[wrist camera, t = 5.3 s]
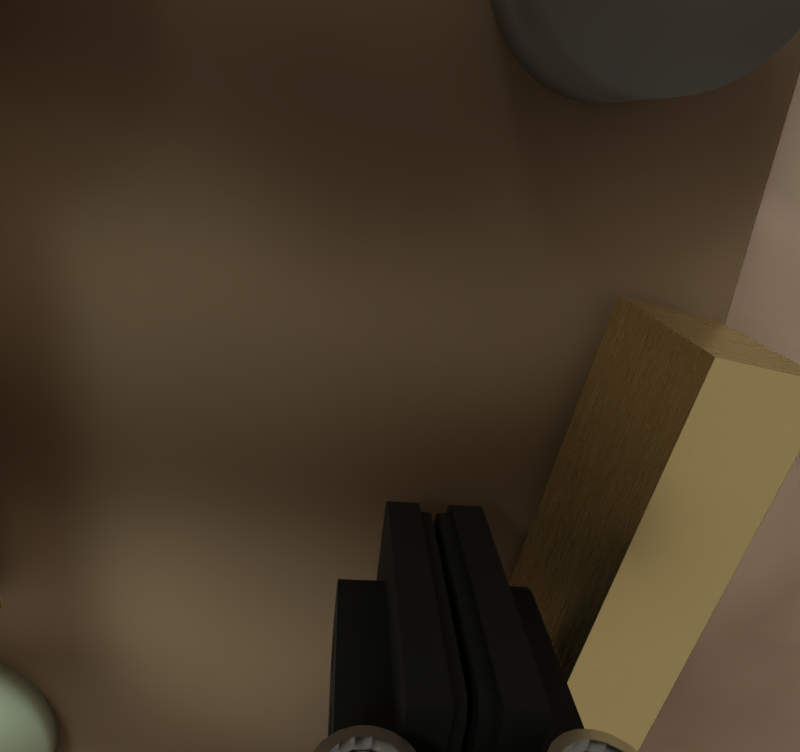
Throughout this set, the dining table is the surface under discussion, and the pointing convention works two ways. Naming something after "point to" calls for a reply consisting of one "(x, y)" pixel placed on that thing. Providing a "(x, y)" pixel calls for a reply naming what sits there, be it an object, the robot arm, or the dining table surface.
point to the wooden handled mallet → (655, 503)
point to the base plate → (320, 310)
